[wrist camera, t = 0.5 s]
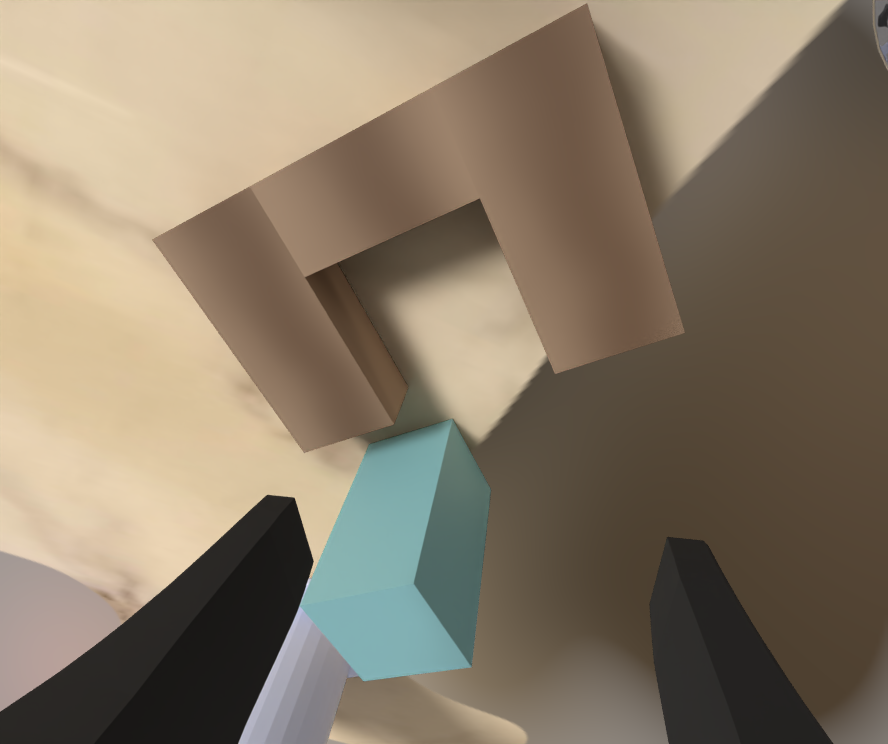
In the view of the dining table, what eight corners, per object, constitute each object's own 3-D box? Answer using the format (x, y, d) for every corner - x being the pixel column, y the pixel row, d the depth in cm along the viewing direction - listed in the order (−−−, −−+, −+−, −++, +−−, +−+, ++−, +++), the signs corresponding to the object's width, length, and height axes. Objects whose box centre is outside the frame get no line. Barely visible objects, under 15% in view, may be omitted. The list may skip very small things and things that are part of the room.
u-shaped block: (325, 415, 23) (304, 452, 21) (194, 218, 19) (152, 239, 17) (668, 299, 18) (684, 333, 16) (580, 10, 15) (587, 3, 12)
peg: (411, 509, 25) (363, 681, 18) (369, 444, 23) (299, 606, 17) (491, 489, 24) (471, 667, 17) (452, 419, 22) (413, 583, 15)
